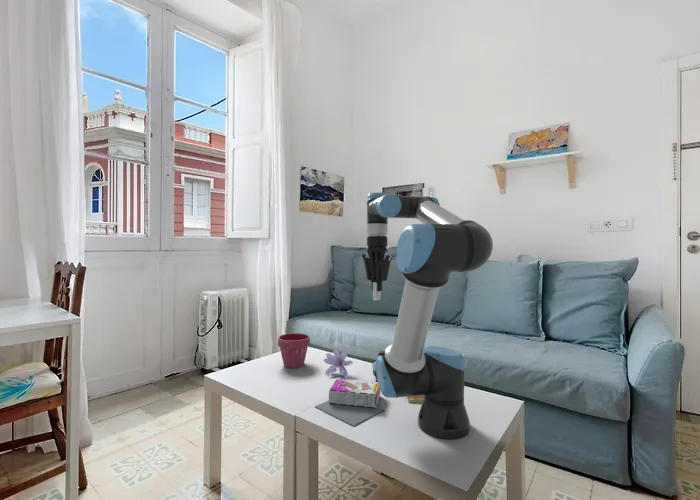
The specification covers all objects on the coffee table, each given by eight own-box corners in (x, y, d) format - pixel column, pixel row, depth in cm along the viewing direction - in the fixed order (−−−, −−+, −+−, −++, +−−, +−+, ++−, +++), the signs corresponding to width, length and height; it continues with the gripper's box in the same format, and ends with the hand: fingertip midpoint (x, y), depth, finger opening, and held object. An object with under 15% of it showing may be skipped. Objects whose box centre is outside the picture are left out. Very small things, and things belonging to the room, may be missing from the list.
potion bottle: (367, 380, 143) (367, 350, 143) (383, 375, 148) (383, 347, 148) (381, 387, 136) (381, 356, 136) (398, 382, 142) (398, 352, 141)
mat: (384, 410, 118) (384, 409, 118) (353, 426, 107) (353, 425, 107) (346, 393, 131) (346, 393, 131) (314, 407, 120) (314, 406, 120)
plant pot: (299, 357, 172) (299, 331, 171) (315, 365, 161) (315, 337, 161) (272, 363, 163) (272, 335, 162) (287, 372, 152) (287, 342, 152)
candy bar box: (336, 377, 132) (380, 381, 129) (336, 391, 132) (380, 395, 129) (328, 389, 121) (376, 394, 118) (328, 404, 121) (376, 409, 118)
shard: (405, 391, 135) (405, 386, 135) (425, 391, 134) (425, 387, 134) (407, 404, 124) (407, 398, 124) (429, 404, 123) (429, 399, 123)
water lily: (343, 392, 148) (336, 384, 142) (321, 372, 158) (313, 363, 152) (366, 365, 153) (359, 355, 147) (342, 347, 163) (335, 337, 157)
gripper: (397, 235, 129) (397, 300, 129) (370, 236, 138) (370, 296, 138) (384, 235, 123) (384, 303, 124) (357, 235, 133) (356, 299, 133)
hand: (376, 299), depth 131 cm, fingers closed
